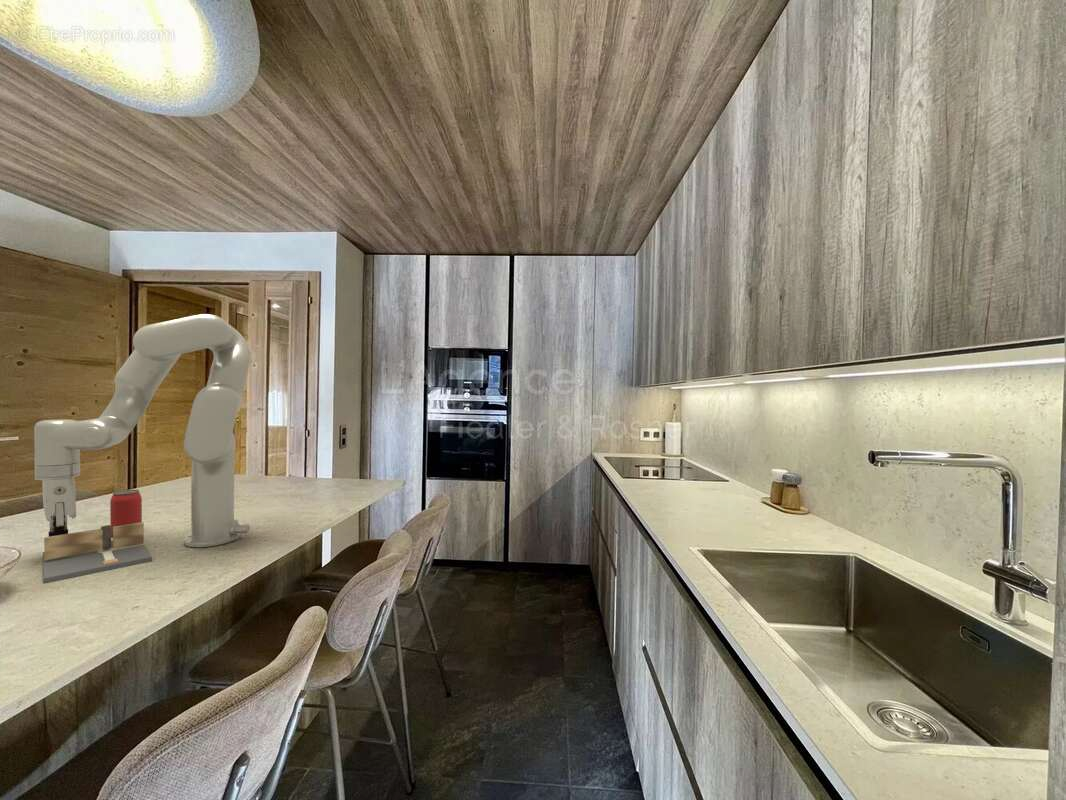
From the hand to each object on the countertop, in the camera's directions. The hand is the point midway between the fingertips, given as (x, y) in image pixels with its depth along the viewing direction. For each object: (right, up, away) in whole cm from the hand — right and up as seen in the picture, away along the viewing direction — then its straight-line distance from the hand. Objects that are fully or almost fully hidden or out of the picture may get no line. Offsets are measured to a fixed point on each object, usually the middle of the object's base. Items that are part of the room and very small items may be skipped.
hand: (58, 547), depth 109 cm
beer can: (0, -3, +18) cm, 18 cm away
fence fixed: (+12, -2, +6) cm, 13 cm away
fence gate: (+6, -1, -1) cm, 6 cm away
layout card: (+9, -3, 0) cm, 10 cm away
